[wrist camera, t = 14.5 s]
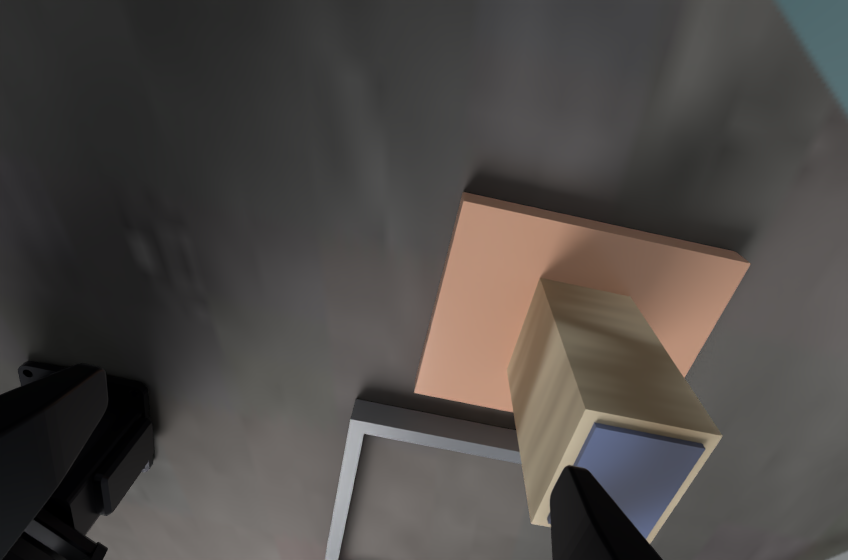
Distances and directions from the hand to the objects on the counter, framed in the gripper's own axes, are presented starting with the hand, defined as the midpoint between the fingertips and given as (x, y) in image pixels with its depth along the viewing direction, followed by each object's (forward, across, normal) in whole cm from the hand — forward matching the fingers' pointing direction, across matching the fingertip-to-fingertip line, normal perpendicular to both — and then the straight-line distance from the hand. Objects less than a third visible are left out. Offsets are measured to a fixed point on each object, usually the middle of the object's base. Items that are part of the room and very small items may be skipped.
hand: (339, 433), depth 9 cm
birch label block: (+12, -8, +3) cm, 15 cm away
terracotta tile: (+13, -8, +3) cm, 16 cm away
